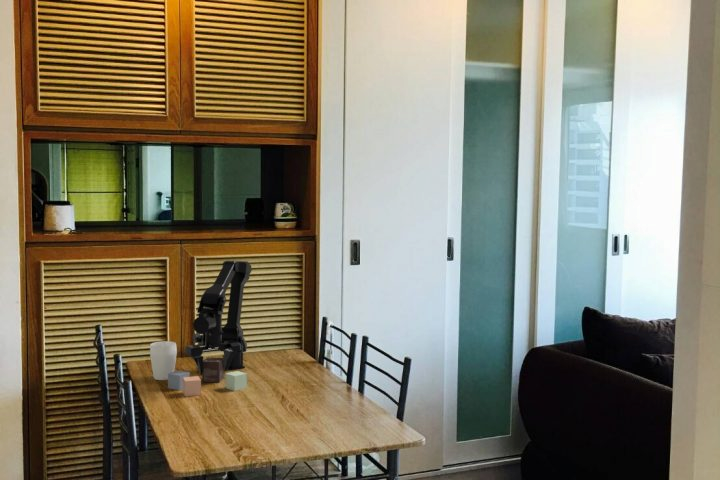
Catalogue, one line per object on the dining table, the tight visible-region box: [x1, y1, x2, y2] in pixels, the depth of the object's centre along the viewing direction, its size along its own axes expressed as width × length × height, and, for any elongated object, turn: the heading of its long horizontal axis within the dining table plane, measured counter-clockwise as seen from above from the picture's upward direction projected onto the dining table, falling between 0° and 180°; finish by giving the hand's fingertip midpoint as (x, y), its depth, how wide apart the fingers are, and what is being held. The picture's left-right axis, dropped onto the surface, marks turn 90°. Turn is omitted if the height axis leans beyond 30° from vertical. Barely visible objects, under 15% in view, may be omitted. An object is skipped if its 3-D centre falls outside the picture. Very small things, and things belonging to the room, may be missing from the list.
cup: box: [149, 340, 178, 381], centre depth 277 cm, size 9×9×12 cm
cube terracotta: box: [182, 375, 202, 397], centre depth 259 cm, size 5×5×5 cm
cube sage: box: [225, 370, 248, 392], centre depth 267 cm, size 5×5×5 cm
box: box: [202, 357, 225, 383], centre depth 276 cm, size 6×6×7 cm
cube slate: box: [167, 369, 191, 391], centre depth 266 cm, size 5×5×5 cm
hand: (213, 372), depth 276 cm, fingers open, 9 cm apart
